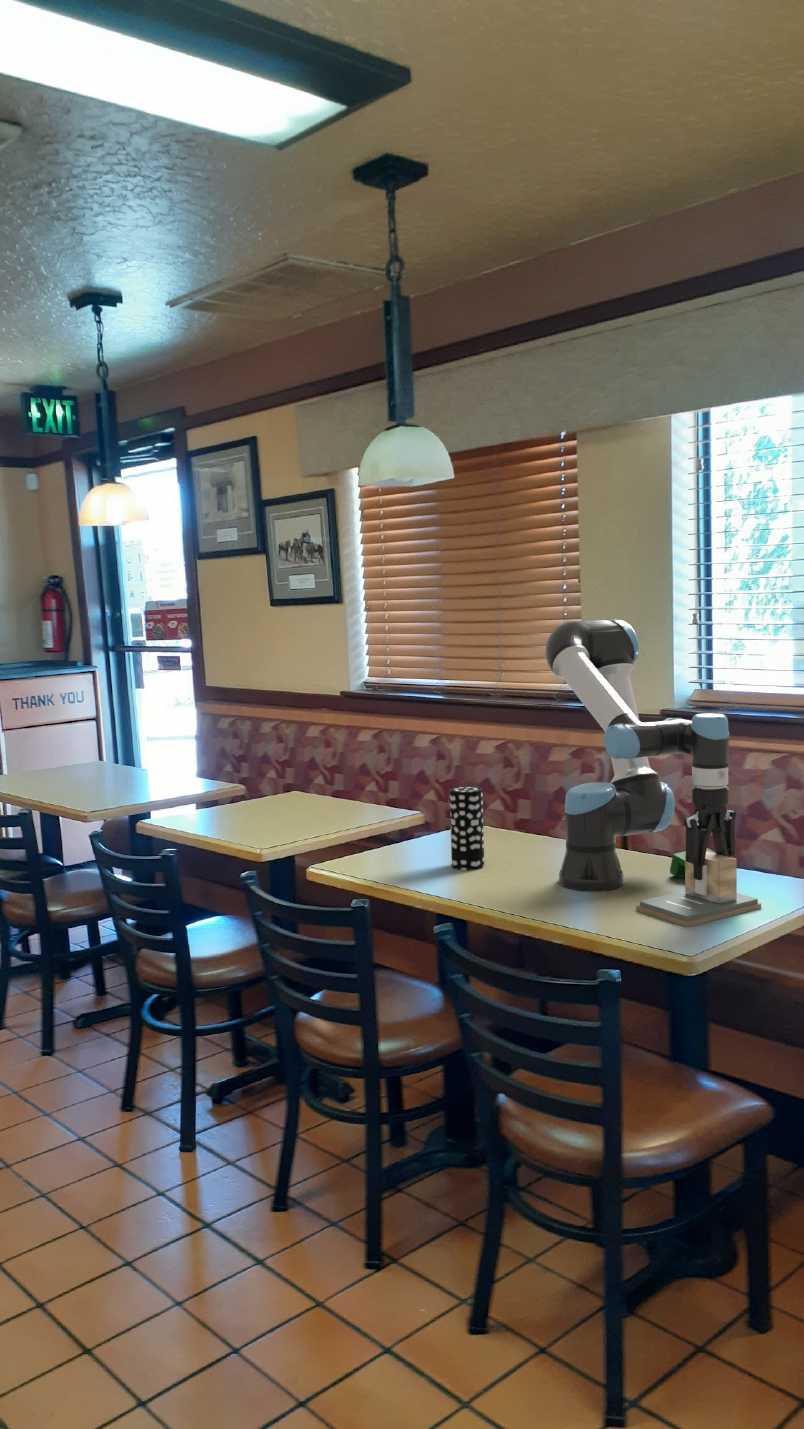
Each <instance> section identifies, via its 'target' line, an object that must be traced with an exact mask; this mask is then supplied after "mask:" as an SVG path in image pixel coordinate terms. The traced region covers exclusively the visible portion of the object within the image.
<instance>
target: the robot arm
mask: <svg viewBox="0 0 804 1429" xmlns="http://www.w3.org/2000/svg"><path fill="white" fill-rule="evenodd" d="M545 644H546V646H545V659H546V662H547V665H548V667H549V668H550V670H551V671H552V673H553V674H554V675H555V676H556V677H557V678H558V679H560V680H564V681H565V683H567V685H568V686H569V688H571V690H572V691H573V692H574V694H575V695H576V696H577V698H578V699H579V700H580V702H581V703H582V704H583V705H584V707H585V708H586V709H587V711H588V712H589V713H590V714H591V715H592V717H593V718H594V720H596V722H597V723H598V725H599V726H600V727H601V729H603V731H604V735H603V745H604V747H605V751H606V753H607V754H608V756H610V760H611V765H612V769H613V773H614V776H613V778H612V779H611V781H610V782H605V781H599V782H598V781H597V782H588V783H587V782H586V783H582V784H579V785H576V786H573V787H572V788H570V789H569V790H567V792H566V795H565V798H564V800H565V801H564V802H565V803H564V812H565V813H564V814H565V815H564V816H565V817H564V818H565V819H564V820H565V821H564V822H565V823H564V824H565V853H564V857H563V860H562V864H561V869H560V870H559V873H558V882H559V884H560V885H561V886H562V887H564V888H568V889H572V890H576V891H585V892H586V891H591V892H597V891H598V892H599V891H610V890H614V889H617V888H620V887H622V886H623V885H624V883H625V882H624V871H623V870H622V868H621V863H620V860H619V857H618V855H617V851H616V850H617V849H616V845H617V844H616V843H617V842H616V838H618V837H624V836H625V837H627V836H631V835H632V836H633V835H642V834H646V835H648V834H649V835H650V834H652V833H656V832H661V831H663V830H665V829H666V828H668V826H669V825H670V824H671V822H672V820H673V817H674V813H675V809H676V808H675V806H676V805H675V804H676V803H675V795H674V792H673V791H672V789H671V787H670V786H669V785H668V783H664V782H662V781H660V777H659V773H658V772H656V771H655V770H653V769H652V768H651V766H650V762H649V757H654V756H658V757H659V756H667V755H668V756H669V755H677V754H678V755H679V754H680V755H681V754H682V755H689V756H691V760H692V763H691V768H692V769H691V773H692V774H691V775H692V776H691V778H692V779H691V783H692V785H693V787H692V790H691V793H692V795H691V796H692V798H691V800H692V801H691V802H692V803H693V804H694V806H695V808H694V812H693V815H692V816H690V817H684V818H683V822H684V826H685V851H686V862H689V863H692V864H693V866H694V879H695V893H698V894H701V895H704V896H705V895H707V865H704V861H705V855H706V850H707V848H708V843H709V837H710V836H711V835H712V839H713V844H714V849H715V853H716V854H719V855H723V856H727V857H731V858H733V857H735V853H736V850H735V849H736V846H735V844H736V843H735V842H736V841H735V839H736V838H735V836H736V835H735V830H736V829H735V821H736V817H737V812H736V811H733V810H728V808H727V805H728V804H729V798H730V797H729V796H730V795H729V791H730V790H729V787H728V786H727V785H729V763H730V762H729V759H730V758H729V754H730V752H729V749H730V748H729V747H730V745H729V744H730V739H729V738H730V731H729V719H728V717H727V715H725V714H722V713H697V714H695V715H692V716H693V717H692V718H691V719H690V720H689V719H684V718H682V717H668V718H665V719H663V720H661V721H660V720H659V721H645V722H642V721H640V716H639V712H638V709H637V703H636V700H635V695H634V690H633V686H632V681H631V675H630V674H631V673H632V671H633V670H634V668H635V667H634V663H635V662H636V661H637V659H638V657H639V650H640V645H639V638H638V636H637V634H636V631H635V630H634V628H633V627H632V626H631V625H630V623H627V622H626V621H625V620H622V619H610V618H606V619H601V620H599V619H597V620H579V621H578V620H573V621H572V620H571V621H567V622H564V623H562V624H560V625H559V626H557V627H555V629H554V630H552V633H551V634H550V635H549V637H548V638H547V641H546V643H545ZM698 858H699V859H698Z"/></svg>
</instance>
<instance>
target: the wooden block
mask: <svg viewBox="0 0 804 1429" xmlns="http://www.w3.org/2000/svg"><path fill="white" fill-rule="evenodd" d="M715 853H716V852H715ZM715 853H711V852H707V851H706V855H705V861H704V865H707V895H705V896H704V895H701V894H698V893H695V879H694V866H693V864H692V863H689V862H686V854H685V876H684V878H685V879H684V882H685V886H684V887H685V888H684V889H685V890H684V891H685V894H688V895H692V896H695V897H698V898H702V899H705V900H708V901H712V902H715V903H719V904H722V903H726V902H730V901H734V900H737V893H738V892H737V891H738V889H737V887H738V886H737V884H738V883H737V874H738V873H737V870H738V868H737V867H738V866H737V862H738V861H737V858H735V857H732V856H730V857H727V856H723V855H719V854H715ZM731 857H732V858H731ZM698 859H699V858H698Z"/></svg>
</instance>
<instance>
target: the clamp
mask: <svg viewBox="0 0 804 1429" xmlns="http://www.w3.org/2000/svg"><path fill="white" fill-rule="evenodd" d="M706 851H707V852H711V853H715V854H716V851H714V850H712V849H710V848H708V847H707V850H706ZM685 854H686V850H685V851H681V852H677V853H673V854H672V858H671V863H670V867H669V873H670V874H671V875H672V876H674V877H675V878H678V877H679V878H682V877H681V876H683V877H685ZM679 878H678V879H679Z"/></svg>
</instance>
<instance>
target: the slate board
mask: <svg viewBox="0 0 804 1429" xmlns="http://www.w3.org/2000/svg"><path fill="white" fill-rule="evenodd" d="M758 909H762V903H761V902H759V899H758V898H755V897H752V896H749V895H746V894H745V895H744V894H742V893H739V892H737V900H734V901H730V902H726V903H722V904H719V903H715V902H712V901H708V900H705V899H702V898H698V897H695V896H692V895H688V894H685V890H681V891H678V892H673V893H669V894H665V895H660V896H656V897H653V898H651V897H650V898H648V899H643V900H639V904H637V905H636V908H635V910H636V911H638V912H641V913H644V914H648V915H650V916H653V917H656V918H660V919H661V920H662V919H663V920H665V921H668V922H672V923H675V924H678V925H679V926H680V925H681V926H683V927H686V926H687V928H690V926H691V927H693V926H697V925H702V924H705V923H709V922H712V921H716V920H721V919H724V918H728V917H732V916H736V915H740V914H743V913H744V914H745V913H748V912H751V911H755V910H758Z"/></svg>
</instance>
